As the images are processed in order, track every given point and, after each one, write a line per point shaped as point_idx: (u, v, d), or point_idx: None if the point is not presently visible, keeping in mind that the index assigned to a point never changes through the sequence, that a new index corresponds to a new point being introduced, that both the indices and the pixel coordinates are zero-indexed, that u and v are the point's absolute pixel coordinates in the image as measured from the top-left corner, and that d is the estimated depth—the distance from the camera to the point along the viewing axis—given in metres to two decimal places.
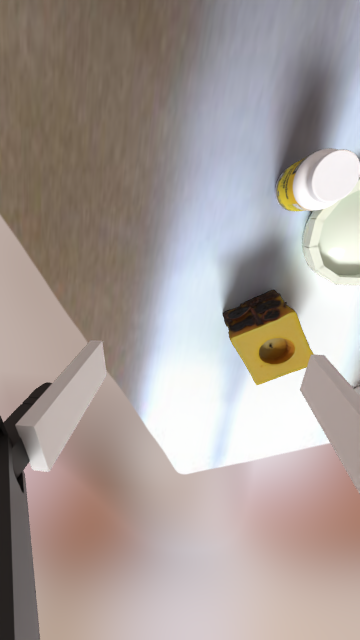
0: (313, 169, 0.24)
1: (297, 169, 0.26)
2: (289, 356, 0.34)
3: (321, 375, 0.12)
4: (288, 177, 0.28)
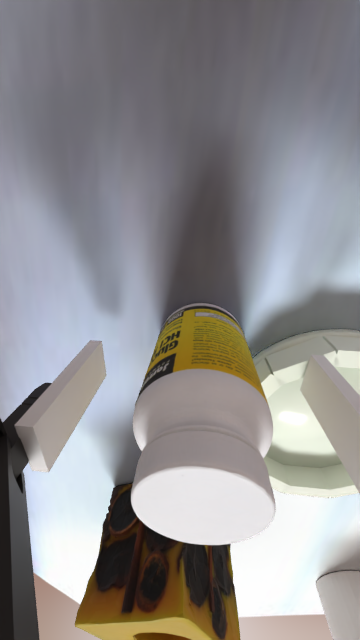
0: (134, 477, 0.07)
1: (138, 397, 0.10)
2: None
3: (321, 375, 0.12)
4: None
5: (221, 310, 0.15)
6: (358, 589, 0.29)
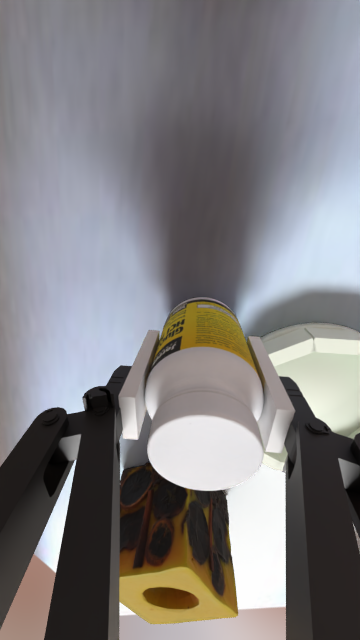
0: (150, 430, 0.09)
1: (149, 373, 0.12)
2: (194, 601, 0.21)
3: (251, 352, 0.14)
4: None
5: (220, 303, 0.17)
6: None
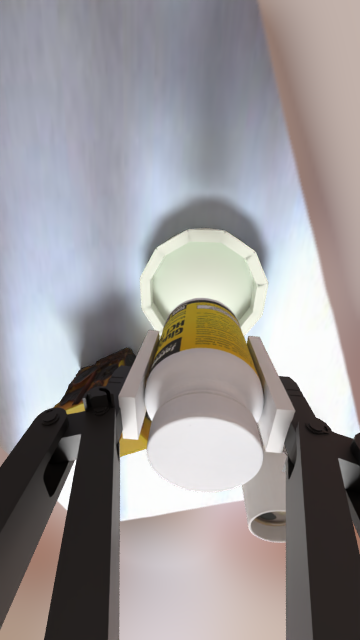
0: (150, 432, 0.09)
1: (149, 374, 0.12)
2: (120, 437, 0.29)
3: (251, 352, 0.14)
4: None
5: (220, 304, 0.17)
6: None
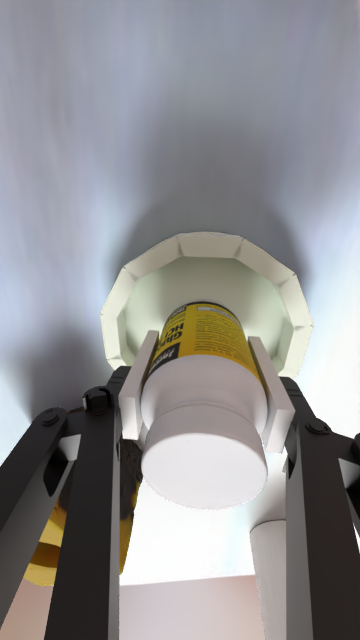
0: (144, 447, 0.09)
1: (146, 381, 0.11)
2: None
3: (251, 352, 0.14)
4: None
5: (221, 305, 0.16)
6: (283, 536, 0.29)
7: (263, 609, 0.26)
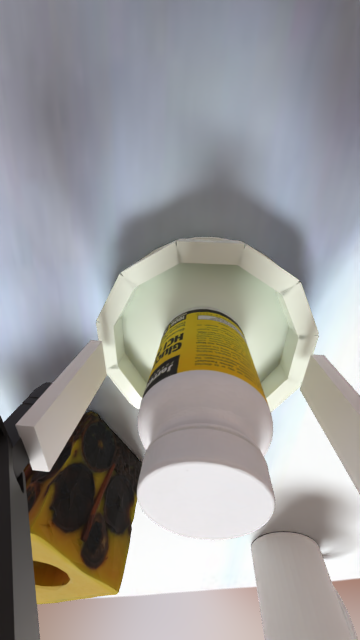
0: (140, 473, 0.08)
1: (143, 397, 0.10)
2: (68, 577, 0.18)
3: (321, 375, 0.12)
4: None
5: (223, 313, 0.15)
6: (285, 549, 0.28)
7: (265, 626, 0.25)
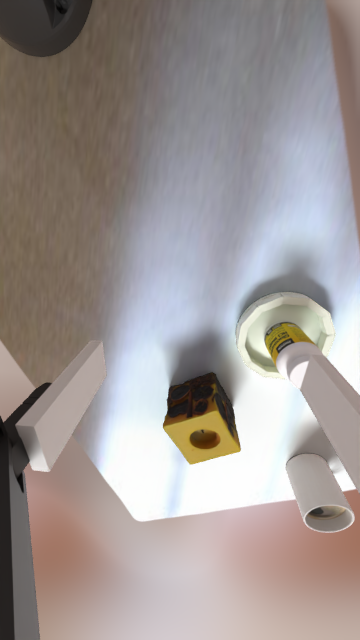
0: (291, 367, 0.29)
1: (280, 351, 0.31)
2: (217, 443, 0.38)
3: (321, 375, 0.12)
4: (273, 346, 0.34)
5: (295, 324, 0.36)
6: (309, 460, 0.48)
7: (299, 496, 0.45)
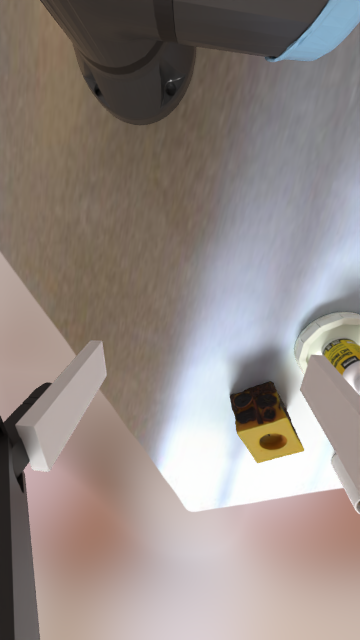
0: None
1: (346, 367, 0.37)
2: (283, 444, 0.44)
3: (321, 375, 0.12)
4: (337, 362, 0.39)
5: (352, 340, 0.42)
6: None
7: (349, 487, 0.51)
